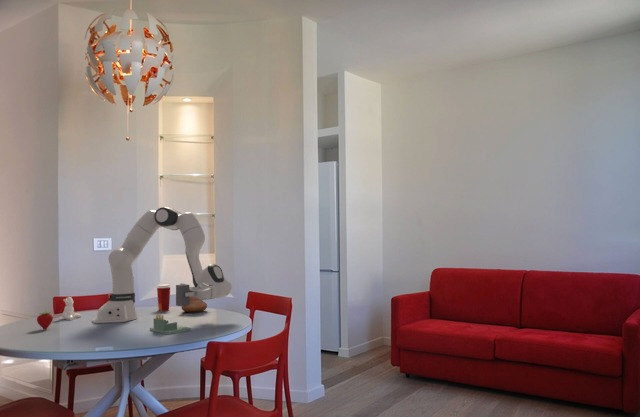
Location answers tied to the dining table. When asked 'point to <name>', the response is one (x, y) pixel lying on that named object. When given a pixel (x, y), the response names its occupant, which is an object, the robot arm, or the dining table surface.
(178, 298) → the plug block
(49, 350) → the dining table surface
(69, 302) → the white creature statuette
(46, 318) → the strawberry
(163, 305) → the coffee cup
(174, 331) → the header board
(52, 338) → the dining table surface
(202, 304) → the ceramic jug
